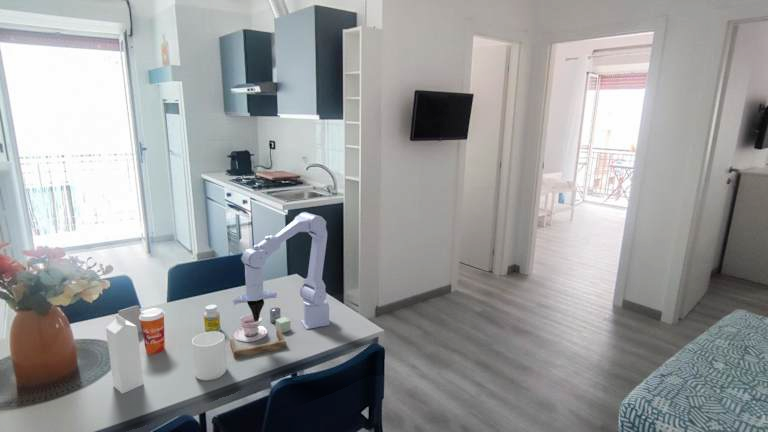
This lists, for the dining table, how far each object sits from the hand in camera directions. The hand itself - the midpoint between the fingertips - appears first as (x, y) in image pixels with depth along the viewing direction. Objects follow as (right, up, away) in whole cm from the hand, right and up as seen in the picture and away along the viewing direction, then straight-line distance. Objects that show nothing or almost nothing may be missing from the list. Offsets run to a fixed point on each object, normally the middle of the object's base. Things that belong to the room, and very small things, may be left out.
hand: (256, 319), depth 151 cm
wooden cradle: (+1, -10, 0) cm, 10 cm away
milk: (-31, -14, -23) cm, 41 cm away
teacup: (-5, -8, +9) cm, 13 cm away
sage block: (+6, -7, +13) cm, 16 cm away
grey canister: (+2, -5, +20) cm, 20 cm away
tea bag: (-48, -7, +8) cm, 49 cm away
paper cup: (-33, -10, -3) cm, 35 cm away
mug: (-11, -13, -15) cm, 22 cm away
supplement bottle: (-20, -7, +11) cm, 24 cm away
